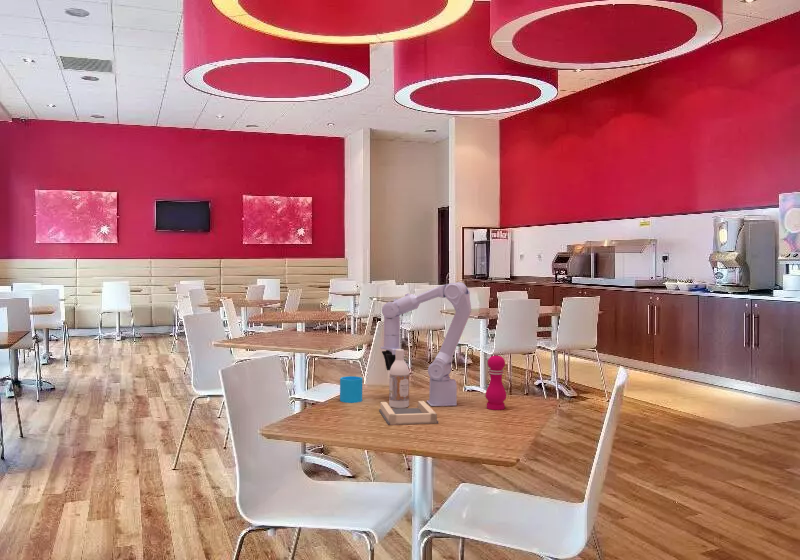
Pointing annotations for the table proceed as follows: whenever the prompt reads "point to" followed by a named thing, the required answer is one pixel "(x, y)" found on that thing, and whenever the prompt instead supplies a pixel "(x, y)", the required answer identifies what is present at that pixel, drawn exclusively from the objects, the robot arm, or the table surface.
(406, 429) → the table surface
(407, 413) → the cradle
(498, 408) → the pepper mill
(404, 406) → the bath foam
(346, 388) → the mug
